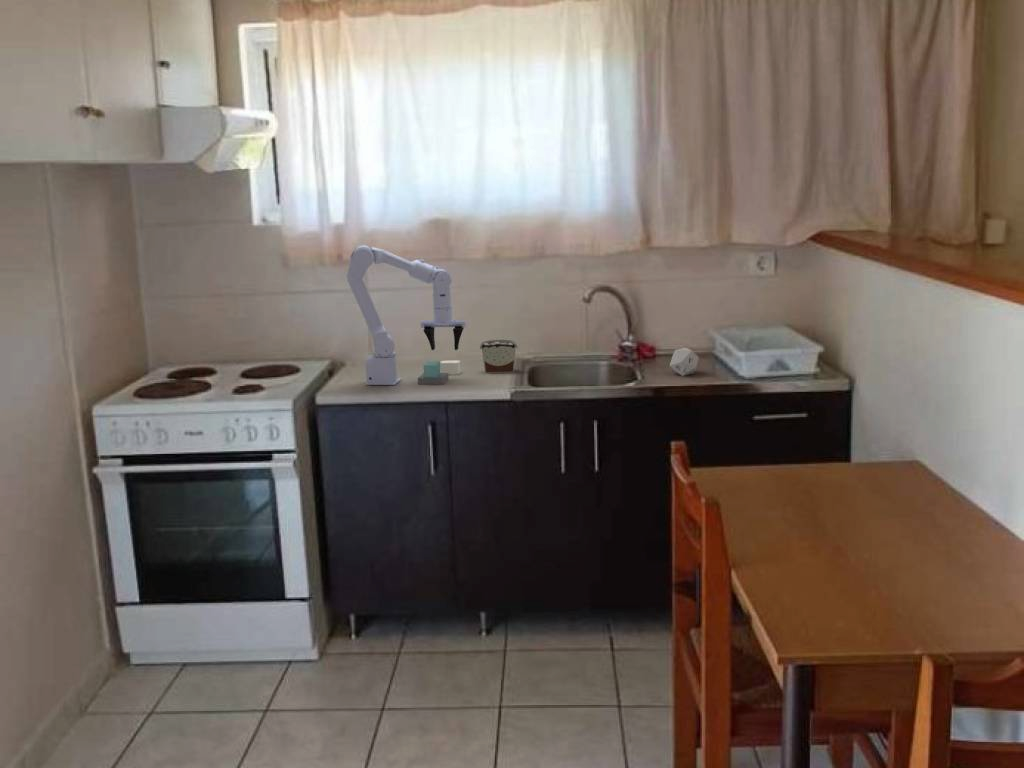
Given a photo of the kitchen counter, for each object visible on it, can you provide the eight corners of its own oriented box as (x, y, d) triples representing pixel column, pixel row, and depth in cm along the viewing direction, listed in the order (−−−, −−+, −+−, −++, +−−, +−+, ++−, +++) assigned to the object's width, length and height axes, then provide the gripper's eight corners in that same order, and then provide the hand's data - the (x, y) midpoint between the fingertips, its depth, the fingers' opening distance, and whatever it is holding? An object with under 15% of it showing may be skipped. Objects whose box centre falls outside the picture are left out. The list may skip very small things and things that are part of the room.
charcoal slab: (418, 385, 322) (417, 378, 321) (424, 380, 329) (423, 372, 329) (442, 385, 321) (442, 378, 320) (448, 380, 328) (447, 372, 328)
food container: (519, 368, 339) (518, 338, 337) (518, 372, 334) (517, 342, 331) (483, 368, 341) (482, 339, 338) (480, 372, 335) (479, 343, 332)
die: (666, 378, 321) (681, 356, 315) (663, 359, 328) (678, 337, 322) (690, 385, 323) (705, 363, 317) (687, 366, 330) (702, 345, 324)
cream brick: (440, 375, 334) (440, 363, 333) (442, 372, 338) (442, 360, 337) (458, 374, 334) (458, 362, 333) (460, 372, 337) (460, 360, 337)
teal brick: (424, 377, 322) (423, 365, 321) (428, 373, 327) (427, 361, 326) (436, 377, 321) (436, 365, 320) (440, 373, 327) (439, 361, 326)
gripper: (417, 309, 321) (419, 352, 324) (462, 309, 318) (464, 351, 321) (422, 306, 327) (425, 347, 330) (466, 305, 325) (468, 347, 328)
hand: (444, 349), depth 326 cm, fingers open, 7 cm apart
